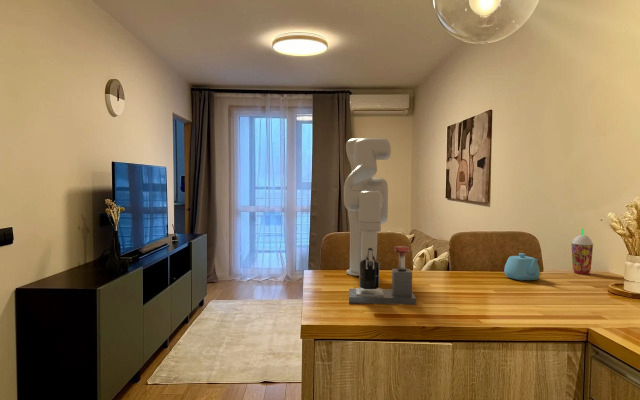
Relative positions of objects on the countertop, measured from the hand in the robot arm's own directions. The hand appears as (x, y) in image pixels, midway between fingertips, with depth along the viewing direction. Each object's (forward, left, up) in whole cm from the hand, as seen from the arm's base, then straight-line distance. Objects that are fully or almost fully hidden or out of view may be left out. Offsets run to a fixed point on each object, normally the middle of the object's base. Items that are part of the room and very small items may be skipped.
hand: (369, 278), depth 145 cm
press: (0, +4, -7) cm, 8 cm away
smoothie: (-51, +97, -7) cm, 110 cm away
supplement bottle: (0, 0, -3) cm, 3 cm away
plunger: (0, +11, -1) cm, 11 cm away
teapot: (-37, +66, -7) cm, 76 cm away
